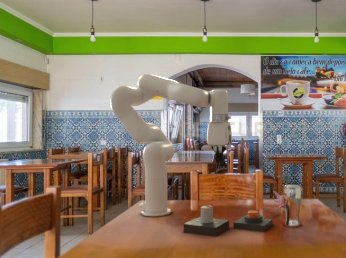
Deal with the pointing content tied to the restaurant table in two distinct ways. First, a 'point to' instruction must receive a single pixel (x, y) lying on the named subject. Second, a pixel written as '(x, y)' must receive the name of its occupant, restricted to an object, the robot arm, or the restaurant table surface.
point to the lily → (279, 201)
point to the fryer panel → (206, 227)
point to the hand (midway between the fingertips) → (219, 162)
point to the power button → (253, 214)
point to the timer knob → (206, 214)
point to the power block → (253, 223)
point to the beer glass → (292, 204)
